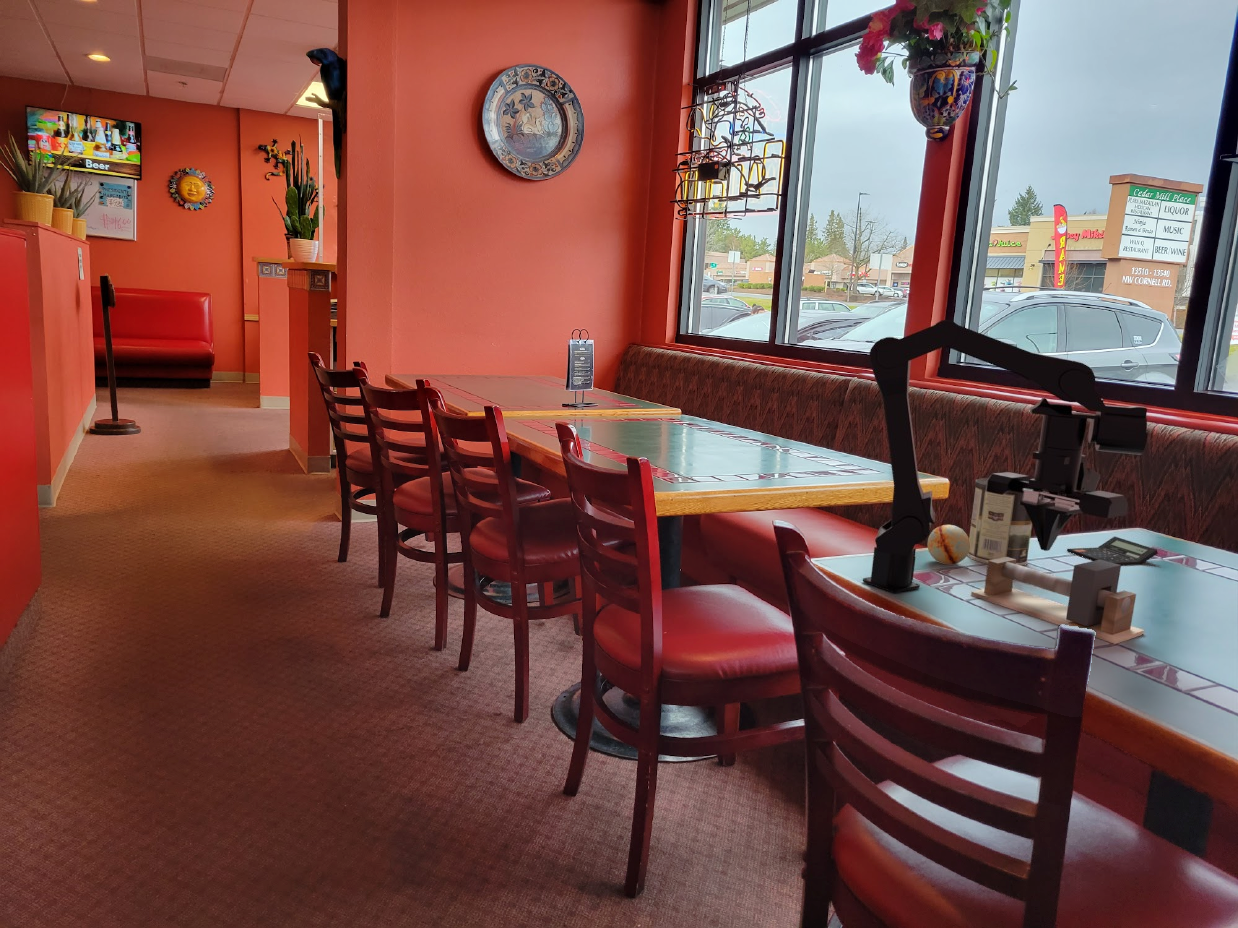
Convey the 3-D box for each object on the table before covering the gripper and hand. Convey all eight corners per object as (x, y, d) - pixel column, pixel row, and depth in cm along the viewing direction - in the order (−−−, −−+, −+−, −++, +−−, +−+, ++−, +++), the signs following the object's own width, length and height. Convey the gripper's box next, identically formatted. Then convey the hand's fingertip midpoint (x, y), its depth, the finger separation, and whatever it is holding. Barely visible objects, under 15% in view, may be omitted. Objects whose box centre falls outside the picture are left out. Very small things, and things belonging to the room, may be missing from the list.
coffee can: (1019, 554, 161) (1029, 480, 158) (1033, 570, 151) (1045, 491, 148) (961, 548, 163) (970, 475, 160) (971, 563, 153) (982, 486, 150)
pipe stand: (1143, 634, 121) (1150, 594, 120) (1115, 643, 117) (1121, 602, 116) (1000, 588, 139) (1005, 553, 138) (970, 595, 135) (975, 559, 134)
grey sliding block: (1112, 618, 124) (1121, 565, 123) (1086, 626, 120) (1095, 571, 119) (1091, 611, 127) (1099, 559, 125) (1066, 619, 123) (1074, 565, 121)
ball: (973, 564, 152) (978, 526, 151) (959, 572, 147) (964, 532, 146) (933, 555, 157) (938, 518, 155) (919, 563, 151) (923, 524, 150)
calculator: (1066, 553, 165) (1068, 537, 165) (1113, 550, 169) (1116, 536, 168) (1107, 567, 156) (1109, 551, 156) (1155, 565, 160) (1158, 549, 159)
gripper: (1155, 455, 122) (1137, 560, 125) (1031, 435, 138) (1017, 529, 140) (1115, 459, 116) (1097, 570, 119) (990, 437, 131) (977, 536, 134)
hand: (1045, 550), depth 128 cm, fingers closed
